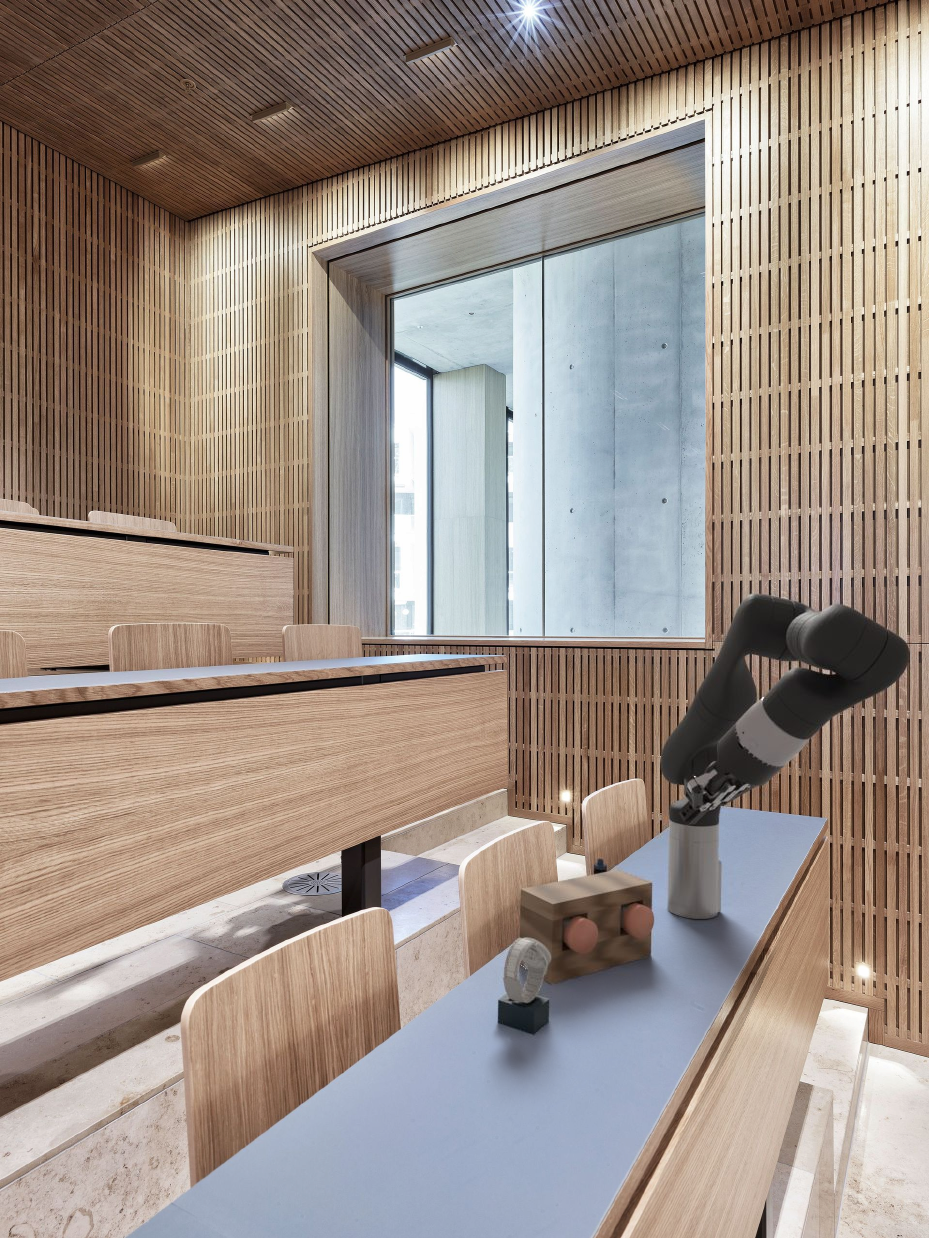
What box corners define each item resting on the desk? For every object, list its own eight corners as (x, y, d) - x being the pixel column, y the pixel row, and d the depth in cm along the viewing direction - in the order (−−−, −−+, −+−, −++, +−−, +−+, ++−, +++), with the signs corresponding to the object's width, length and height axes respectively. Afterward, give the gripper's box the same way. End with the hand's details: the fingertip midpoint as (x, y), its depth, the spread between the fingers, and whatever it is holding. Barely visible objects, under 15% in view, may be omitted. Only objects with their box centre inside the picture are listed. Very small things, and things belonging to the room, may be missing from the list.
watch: (555, 1016, 110) (557, 936, 110) (527, 1040, 103) (528, 955, 103) (520, 1004, 113) (521, 926, 113) (490, 1028, 106) (491, 944, 106)
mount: (616, 939, 137) (618, 869, 138) (651, 955, 131) (652, 882, 131) (519, 965, 126) (520, 888, 126) (551, 984, 119) (552, 904, 119)
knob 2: (608, 915, 136) (608, 885, 136) (653, 935, 128) (654, 904, 128) (586, 920, 134) (586, 890, 134) (631, 941, 125) (631, 909, 125)
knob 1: (553, 928, 130) (554, 897, 130) (597, 950, 121) (598, 917, 121) (529, 933, 127) (530, 902, 127) (572, 957, 118) (573, 923, 118)
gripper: (779, 713, 104) (703, 791, 114) (710, 718, 96) (636, 800, 107) (815, 760, 99) (733, 837, 109) (747, 769, 92) (665, 849, 102)
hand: (685, 818), depth 108 cm, fingers closed
